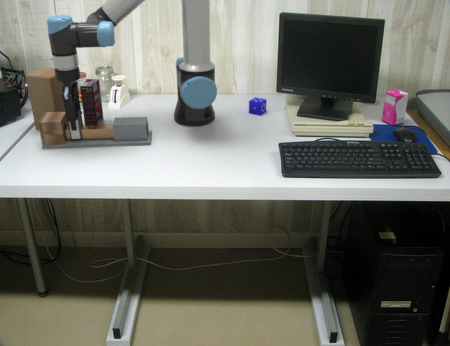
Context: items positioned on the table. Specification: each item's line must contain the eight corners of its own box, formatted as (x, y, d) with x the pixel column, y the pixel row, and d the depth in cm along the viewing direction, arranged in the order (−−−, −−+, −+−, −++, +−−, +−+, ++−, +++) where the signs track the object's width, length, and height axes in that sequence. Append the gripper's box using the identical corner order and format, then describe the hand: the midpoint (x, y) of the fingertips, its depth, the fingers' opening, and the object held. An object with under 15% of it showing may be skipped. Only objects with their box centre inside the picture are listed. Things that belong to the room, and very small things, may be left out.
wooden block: (75, 122, 183) (67, 69, 173) (59, 133, 174) (49, 77, 165) (52, 119, 186) (43, 66, 176) (35, 129, 177) (24, 74, 168)
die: (248, 113, 191) (248, 100, 188) (254, 109, 195) (255, 97, 192) (260, 115, 188) (260, 103, 186) (266, 111, 192) (266, 99, 190)
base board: (152, 133, 174) (151, 130, 174) (150, 145, 166) (150, 142, 165) (49, 136, 172) (49, 133, 172) (42, 148, 163) (42, 145, 163)
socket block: (69, 133, 172) (66, 111, 168) (64, 144, 164) (60, 121, 160) (49, 134, 171) (45, 112, 167) (42, 145, 163) (38, 122, 160)
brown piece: (118, 134, 170) (115, 106, 165) (117, 138, 167) (114, 110, 162) (53, 136, 169) (48, 108, 164) (50, 140, 166) (45, 112, 161)
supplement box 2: (392, 118, 186) (397, 88, 180) (404, 123, 181) (409, 93, 176) (380, 120, 184) (385, 91, 178) (391, 126, 179) (397, 96, 174)
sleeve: (148, 132, 172) (147, 116, 170) (147, 140, 166) (146, 124, 164) (116, 133, 172) (114, 117, 169) (114, 141, 166) (112, 125, 163)
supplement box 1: (98, 129, 177) (92, 86, 170) (85, 129, 177) (78, 86, 170) (104, 120, 185) (99, 78, 177) (91, 120, 185) (86, 78, 177)
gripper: (60, 60, 163) (70, 126, 175) (48, 75, 149) (60, 146, 160) (83, 59, 164) (92, 125, 175) (73, 74, 149) (84, 145, 160)
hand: (77, 135), depth 167 cm, fingers closed on brown piece, 3 cm apart
